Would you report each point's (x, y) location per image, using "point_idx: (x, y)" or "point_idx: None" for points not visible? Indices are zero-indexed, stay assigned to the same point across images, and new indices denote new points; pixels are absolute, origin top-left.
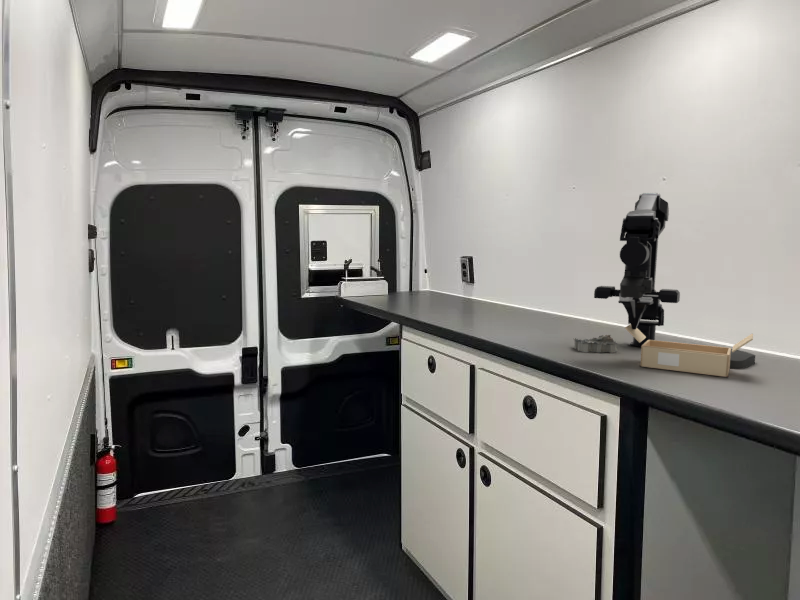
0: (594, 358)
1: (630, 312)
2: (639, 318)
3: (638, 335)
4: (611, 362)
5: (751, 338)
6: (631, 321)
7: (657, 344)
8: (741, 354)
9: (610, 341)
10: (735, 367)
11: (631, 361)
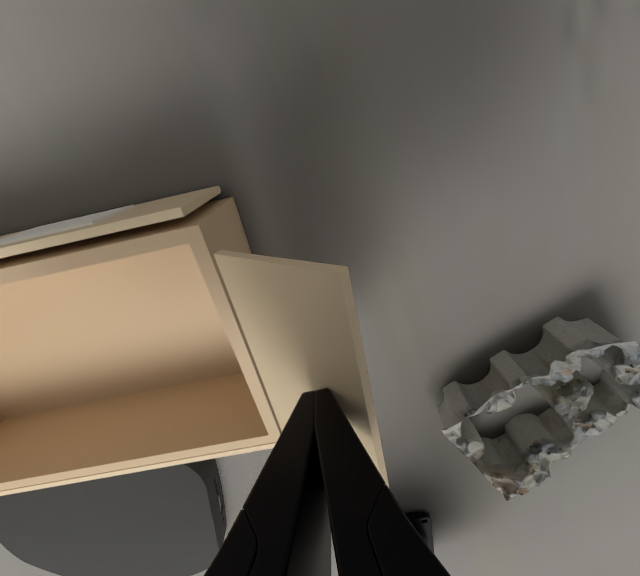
0: (483, 211)
1: (367, 545)
2: (252, 490)
3: (277, 359)
4: (381, 181)
5: None
6: (340, 436)
7: (235, 424)
8: (22, 534)
9: (488, 466)
10: None
11: None
